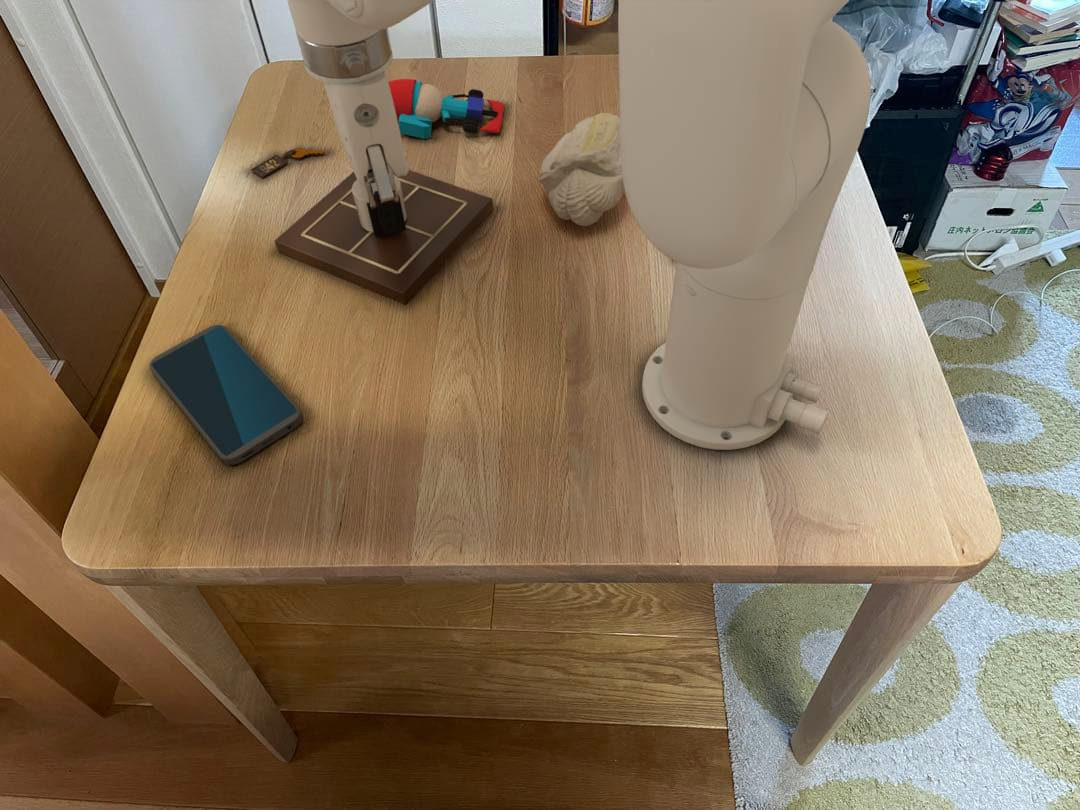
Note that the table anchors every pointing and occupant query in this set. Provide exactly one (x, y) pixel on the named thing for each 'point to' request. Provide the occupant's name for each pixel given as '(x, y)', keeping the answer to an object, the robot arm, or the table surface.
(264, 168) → the key tag
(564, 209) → the fossil replica
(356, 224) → the board
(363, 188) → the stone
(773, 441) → the table surface
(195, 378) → the smartphone
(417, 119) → the toy figure
